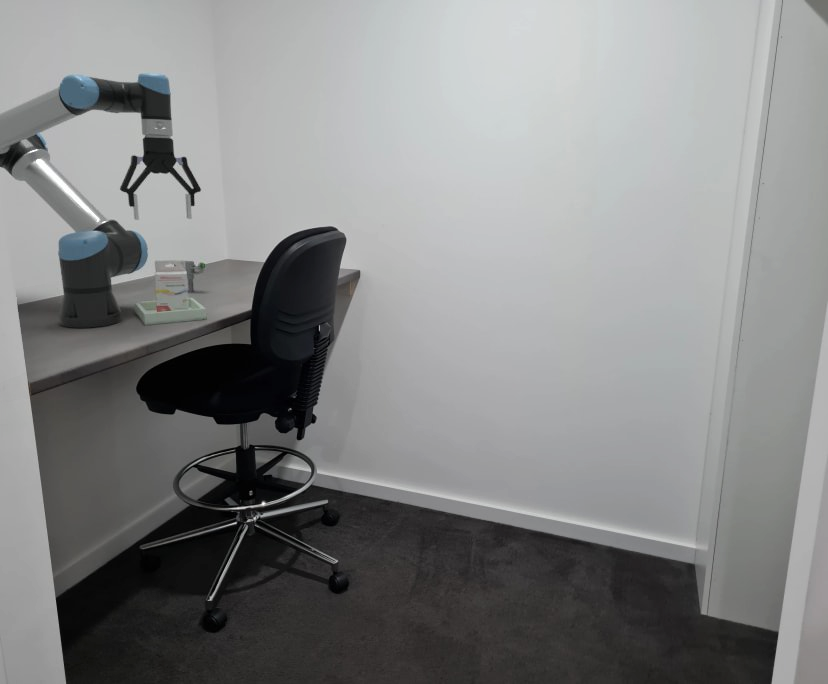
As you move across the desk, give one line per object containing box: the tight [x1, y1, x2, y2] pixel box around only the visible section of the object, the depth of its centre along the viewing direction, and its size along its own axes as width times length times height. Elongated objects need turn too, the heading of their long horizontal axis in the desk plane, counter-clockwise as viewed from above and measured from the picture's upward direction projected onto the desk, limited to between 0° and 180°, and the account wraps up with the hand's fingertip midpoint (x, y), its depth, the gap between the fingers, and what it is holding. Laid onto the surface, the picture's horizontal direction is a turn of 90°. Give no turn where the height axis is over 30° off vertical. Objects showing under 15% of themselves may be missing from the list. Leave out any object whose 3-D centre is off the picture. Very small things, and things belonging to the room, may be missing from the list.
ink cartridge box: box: [154, 259, 189, 312], centre depth 186 cm, size 9×5×15 cm, turn 109°
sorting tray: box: [134, 297, 207, 326], centre depth 187 cm, size 16×16×3 cm
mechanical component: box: [173, 260, 206, 293], centre depth 219 cm, size 3×10×10 cm, turn 78°
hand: (163, 219), depth 181 cm, fingers open, 13 cm apart
